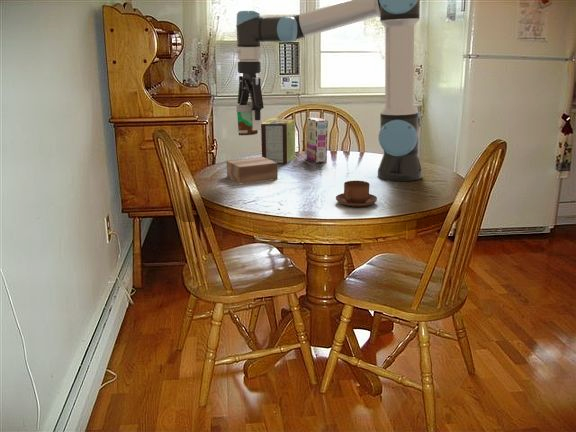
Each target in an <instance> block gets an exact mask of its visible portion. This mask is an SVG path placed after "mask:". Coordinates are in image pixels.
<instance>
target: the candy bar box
mask: <svg viewBox="0 0 576 432" xmlns="http://www.w3.org/2000/svg"><path fill="white" fill-rule="evenodd" d="M328 125H329V124H328V120H326V119H324V118H320V117H307V118H306V159H307V160H309V161H311V162H314V163H316V164H320V163H321V164H323V163H327V162H328Z"/></svg>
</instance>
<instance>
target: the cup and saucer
mask: <svg viewBox="0 0 576 432" xmlns="http://www.w3.org/2000/svg"><path fill="white" fill-rule="evenodd" d="M335 200H336V201H337V202H338V203H339V204H340V205H344V206H347V207H353V208H354V207H357V208H358V207H359V208H361V207H367V206H371V205H374V204H375V203H376V202H377V200H378V197H377V196H376V195H374V194H372V193H370V182H367V181H364V180H348V181H347V180H346V181H345V182H344V183H343V192H342V193H340V194H337V195H336V196H335Z"/></svg>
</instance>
